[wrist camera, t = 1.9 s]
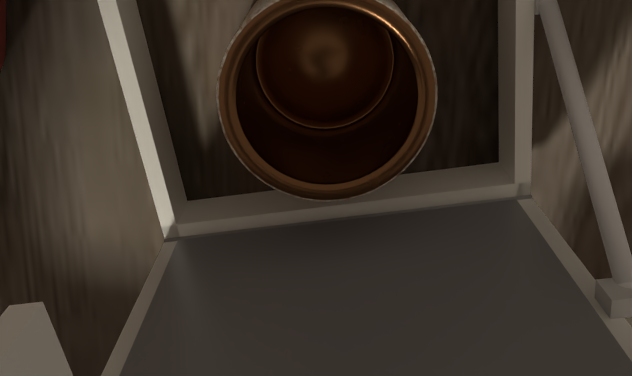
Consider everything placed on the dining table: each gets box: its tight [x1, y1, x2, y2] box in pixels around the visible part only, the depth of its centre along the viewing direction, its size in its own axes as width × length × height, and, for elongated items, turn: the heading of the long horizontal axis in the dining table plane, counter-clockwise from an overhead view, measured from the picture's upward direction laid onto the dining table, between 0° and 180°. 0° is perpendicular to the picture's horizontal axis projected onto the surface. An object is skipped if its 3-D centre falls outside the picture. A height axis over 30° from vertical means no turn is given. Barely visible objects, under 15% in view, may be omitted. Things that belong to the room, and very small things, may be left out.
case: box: [97, 0, 632, 376], centre depth 27 cm, size 25×20×22 cm
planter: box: [216, 0, 438, 202], centre depth 32 cm, size 11×11×10 cm
